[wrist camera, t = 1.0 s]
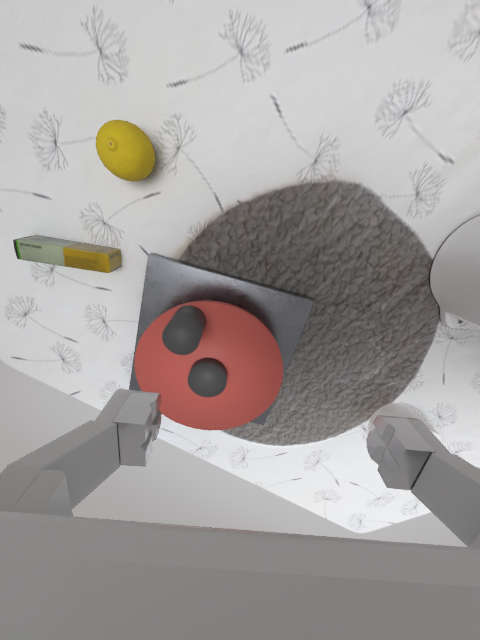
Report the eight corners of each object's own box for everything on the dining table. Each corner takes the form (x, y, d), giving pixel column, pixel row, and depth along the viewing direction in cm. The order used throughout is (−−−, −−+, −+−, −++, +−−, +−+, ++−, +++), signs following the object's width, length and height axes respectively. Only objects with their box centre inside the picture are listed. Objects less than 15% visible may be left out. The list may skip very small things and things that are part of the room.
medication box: (37, 254, 37) (15, 259, 34) (34, 234, 36) (10, 238, 33) (122, 267, 38) (109, 274, 34) (121, 248, 37) (108, 253, 33)
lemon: (145, 194, 34) (117, 189, 27) (109, 159, 33) (69, 144, 25) (172, 158, 32) (150, 143, 25) (135, 120, 31) (101, 92, 24)
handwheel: (293, 410, 39) (301, 445, 33) (167, 434, 41) (154, 470, 35) (265, 283, 32) (269, 299, 26) (113, 320, 34) (86, 342, 28)
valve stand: (312, 298, 39) (323, 312, 33) (263, 418, 48) (265, 446, 42) (152, 253, 37) (135, 260, 31) (132, 388, 46) (116, 412, 40)
